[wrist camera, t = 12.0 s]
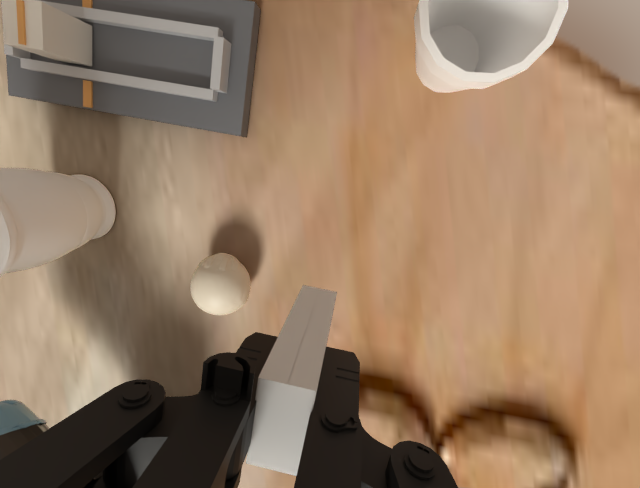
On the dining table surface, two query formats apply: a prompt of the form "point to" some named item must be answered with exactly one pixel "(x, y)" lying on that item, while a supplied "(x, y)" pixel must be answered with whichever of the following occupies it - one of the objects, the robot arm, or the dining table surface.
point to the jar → (49, 216)
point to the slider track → (154, 62)
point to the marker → (86, 84)
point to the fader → (46, 31)
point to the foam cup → (481, 40)
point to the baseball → (220, 284)
